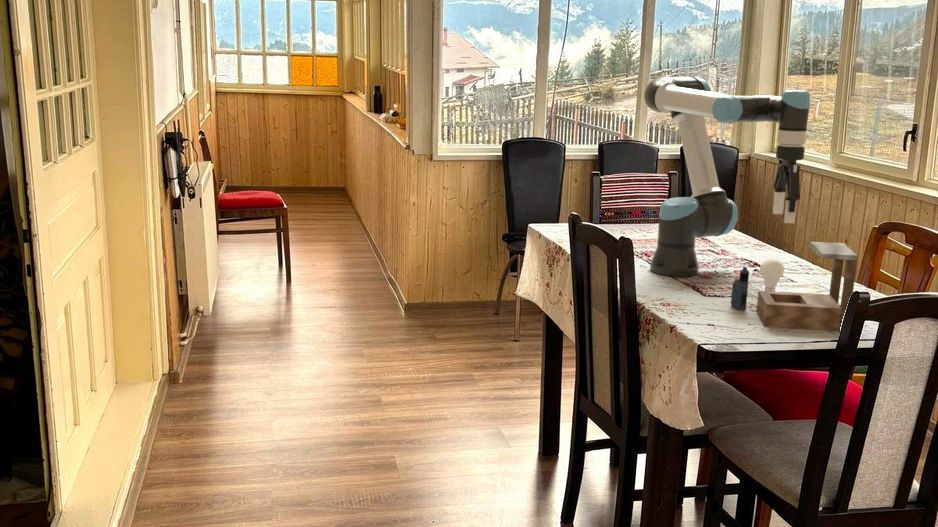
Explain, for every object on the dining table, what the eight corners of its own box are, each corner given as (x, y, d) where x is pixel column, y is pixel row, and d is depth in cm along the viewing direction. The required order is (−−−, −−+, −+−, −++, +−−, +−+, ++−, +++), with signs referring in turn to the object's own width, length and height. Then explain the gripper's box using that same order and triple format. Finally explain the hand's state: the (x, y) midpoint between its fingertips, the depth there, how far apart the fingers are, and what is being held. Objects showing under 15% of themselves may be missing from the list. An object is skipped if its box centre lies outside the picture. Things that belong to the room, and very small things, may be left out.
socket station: (764, 326, 225) (772, 251, 220) (756, 311, 238) (763, 239, 233) (847, 332, 222) (857, 255, 217) (834, 315, 235) (843, 243, 230)
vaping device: (739, 311, 238) (743, 268, 235) (728, 305, 243) (732, 264, 240) (747, 310, 239) (751, 268, 236) (737, 305, 243) (741, 263, 241)
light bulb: (762, 290, 259) (766, 254, 256) (784, 294, 255) (788, 258, 252) (754, 294, 254) (757, 258, 251) (776, 299, 250) (780, 262, 247)
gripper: (817, 150, 235) (808, 227, 240) (793, 140, 259) (785, 210, 264) (788, 150, 235) (780, 226, 241) (767, 140, 259) (760, 210, 265)
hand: (783, 218), depth 252 cm, fingers open, 13 cm apart
